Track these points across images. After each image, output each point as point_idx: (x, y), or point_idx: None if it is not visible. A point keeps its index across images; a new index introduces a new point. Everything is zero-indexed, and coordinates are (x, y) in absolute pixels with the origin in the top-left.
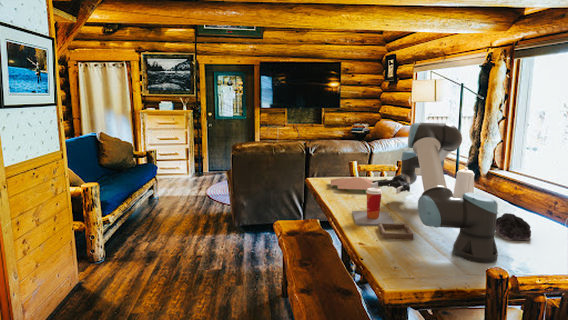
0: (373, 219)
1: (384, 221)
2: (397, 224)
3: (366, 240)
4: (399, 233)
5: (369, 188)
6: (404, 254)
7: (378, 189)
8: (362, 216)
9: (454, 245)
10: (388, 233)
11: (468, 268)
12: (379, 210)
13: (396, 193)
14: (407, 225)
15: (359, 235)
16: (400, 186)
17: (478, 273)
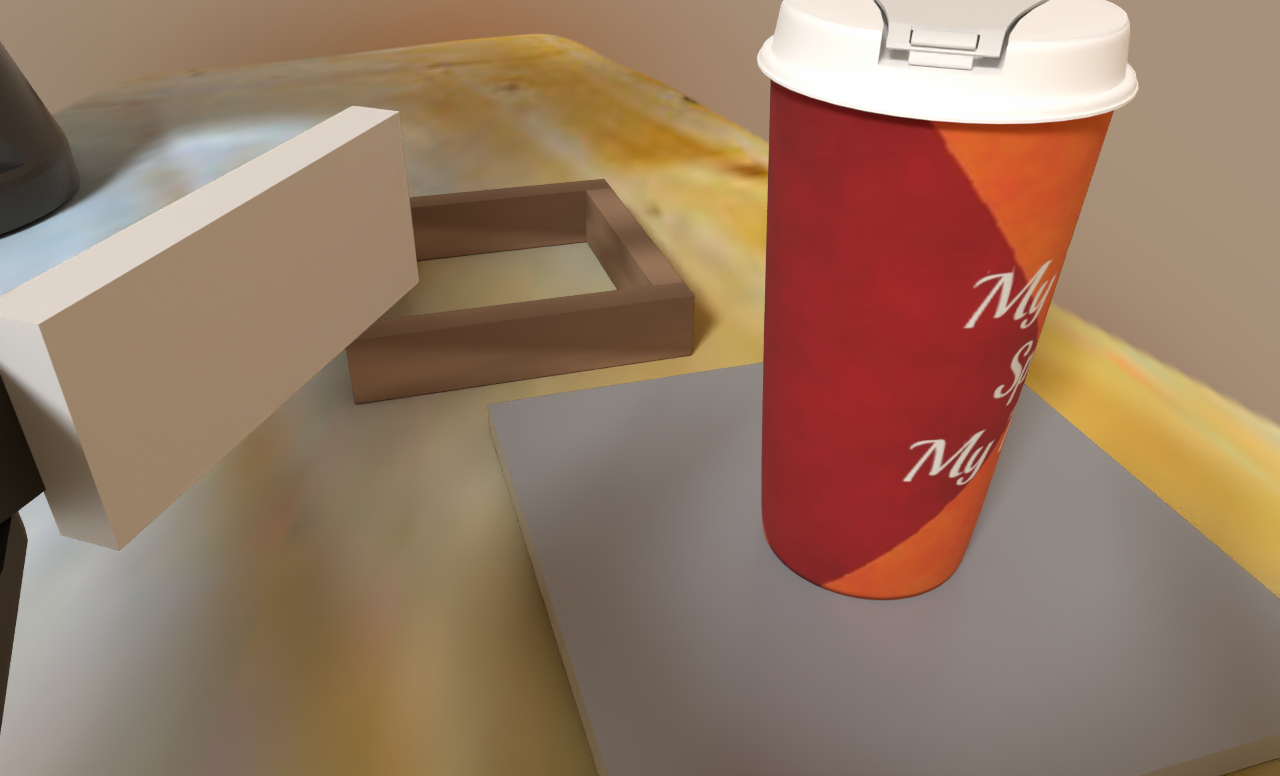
0: None
1: (643, 439)
2: (465, 309)
3: (729, 198)
4: (461, 196)
5: (1093, 15)
6: (448, 145)
7: (868, 10)
8: (1022, 505)
9: (51, 142)
10: (561, 183)
11: (97, 124)
12: (762, 407)
13: (412, 277)
14: None
15: None
16: (164, 248)
17: (71, 110)
